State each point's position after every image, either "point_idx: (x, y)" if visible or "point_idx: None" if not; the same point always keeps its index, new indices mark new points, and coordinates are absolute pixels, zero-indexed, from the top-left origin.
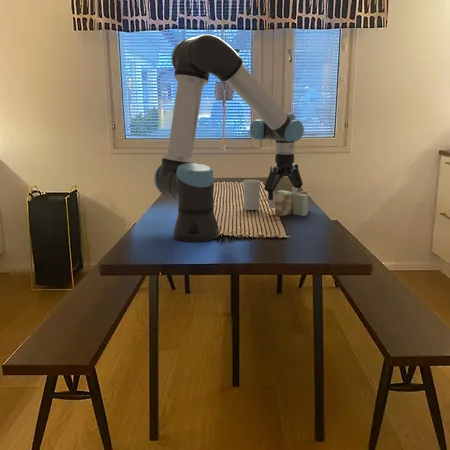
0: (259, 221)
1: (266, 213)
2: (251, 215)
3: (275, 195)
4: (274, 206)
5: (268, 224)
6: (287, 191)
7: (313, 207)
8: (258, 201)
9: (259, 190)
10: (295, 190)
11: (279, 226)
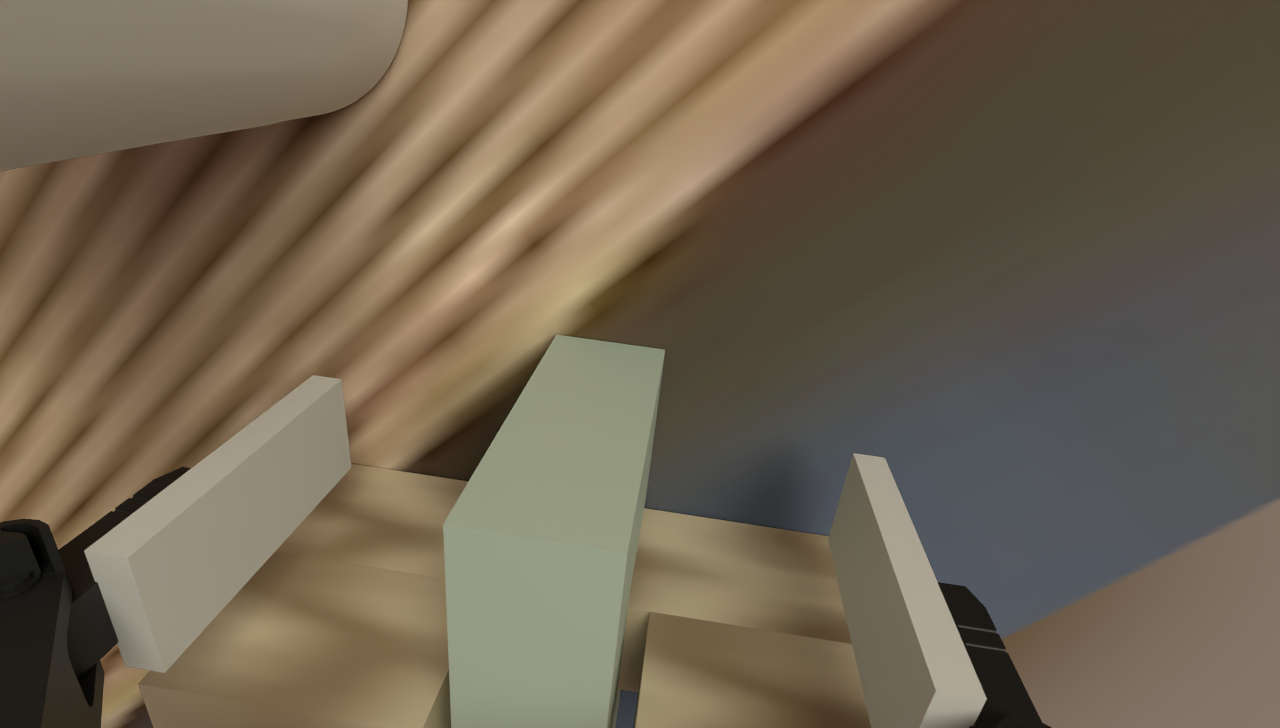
0: (23, 500)
1: (304, 345)
2: (67, 268)
3: (146, 675)
4: (328, 480)
5: None
6: (579, 694)
7: (1049, 599)
8: (233, 130)
9: (44, 150)
10: (883, 711)
11: (104, 693)
